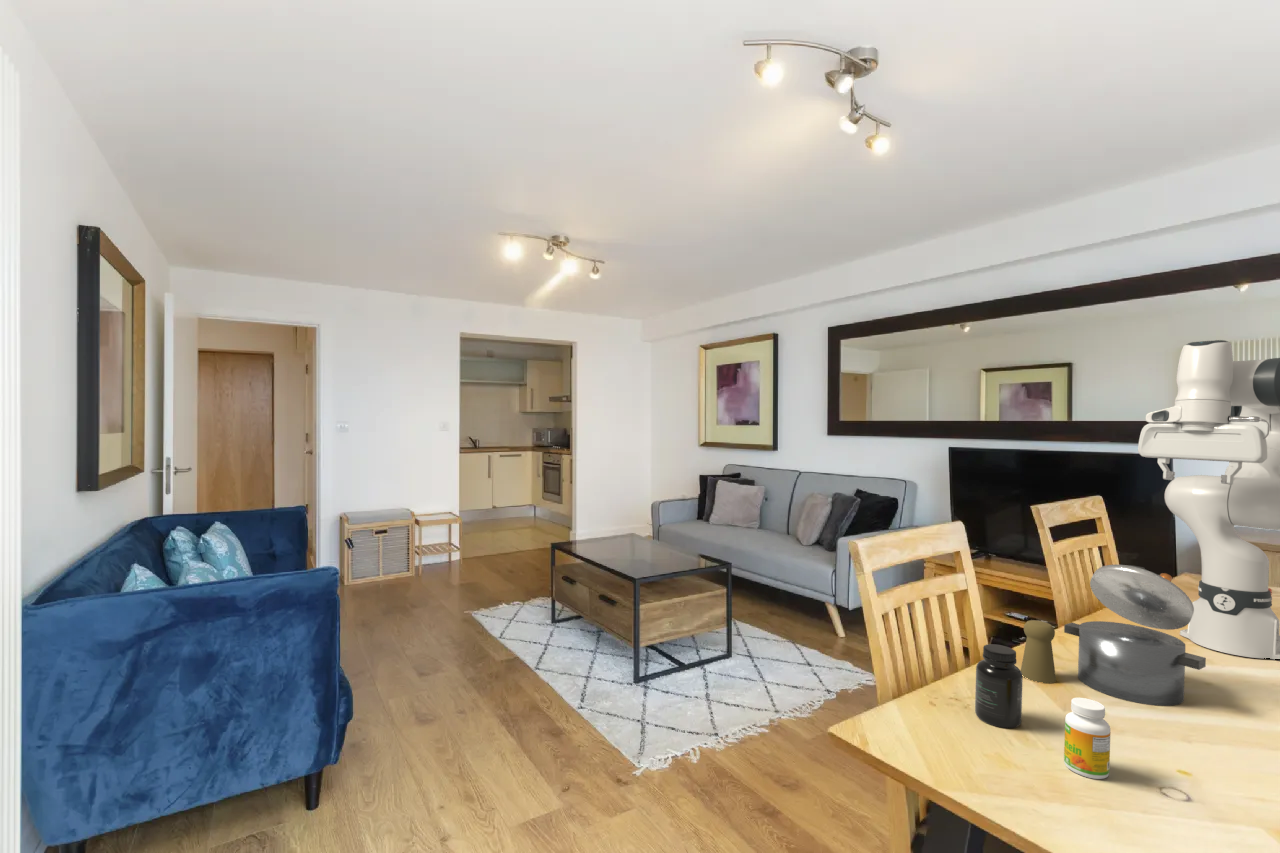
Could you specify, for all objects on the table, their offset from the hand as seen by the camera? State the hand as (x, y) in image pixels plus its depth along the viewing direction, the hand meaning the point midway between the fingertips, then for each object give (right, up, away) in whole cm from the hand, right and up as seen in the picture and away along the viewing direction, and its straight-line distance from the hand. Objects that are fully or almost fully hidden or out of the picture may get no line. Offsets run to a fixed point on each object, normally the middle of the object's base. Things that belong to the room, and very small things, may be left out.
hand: (1196, 481), depth 129 cm
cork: (-37, -39, -6) cm, 54 cm away
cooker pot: (-22, -39, -10) cm, 46 cm away
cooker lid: (-19, -22, -9) cm, 31 cm away
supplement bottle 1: (-56, -38, -24) cm, 72 cm away
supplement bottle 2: (-51, -39, -39) cm, 75 cm away
